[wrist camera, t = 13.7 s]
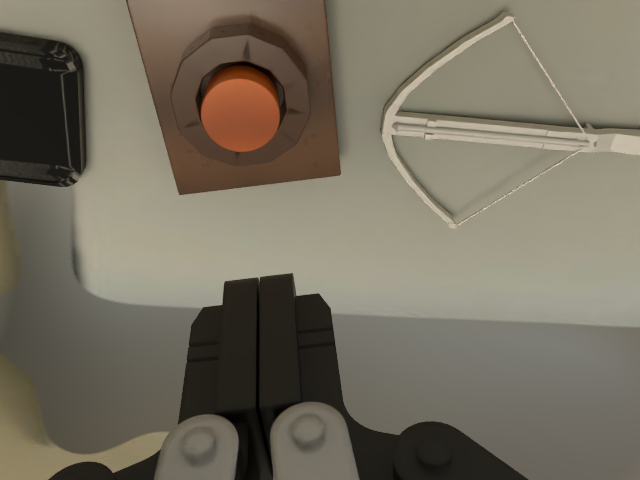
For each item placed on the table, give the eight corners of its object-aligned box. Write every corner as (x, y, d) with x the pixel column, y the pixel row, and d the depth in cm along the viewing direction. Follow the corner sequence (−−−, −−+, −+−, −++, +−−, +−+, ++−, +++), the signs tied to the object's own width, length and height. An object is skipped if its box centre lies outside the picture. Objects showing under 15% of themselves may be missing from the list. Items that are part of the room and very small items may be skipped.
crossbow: (364, 207, 38) (367, 225, 37) (399, -3, 31) (404, 8, 30) (610, 227, 39) (623, 245, 38) (698, 28, 32) (720, 40, 30)
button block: (130, -26, 29) (113, -5, 26) (318, -49, 29) (324, -31, 26) (183, 176, 35) (174, 213, 32) (337, 157, 35) (344, 192, 32)
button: (196, 69, 28) (192, 83, 27) (273, 60, 28) (274, 73, 27) (212, 140, 30) (209, 156, 29) (284, 131, 30) (285, 147, 29)
